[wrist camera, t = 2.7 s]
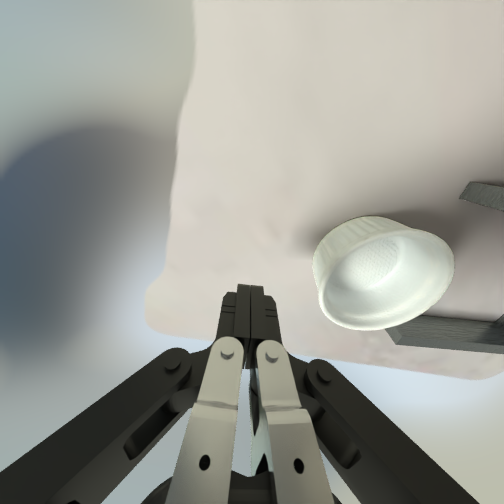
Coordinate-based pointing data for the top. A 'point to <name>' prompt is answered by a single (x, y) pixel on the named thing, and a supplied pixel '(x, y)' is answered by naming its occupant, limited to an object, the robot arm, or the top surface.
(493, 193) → the press
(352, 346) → the top surface
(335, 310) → the ramekin
